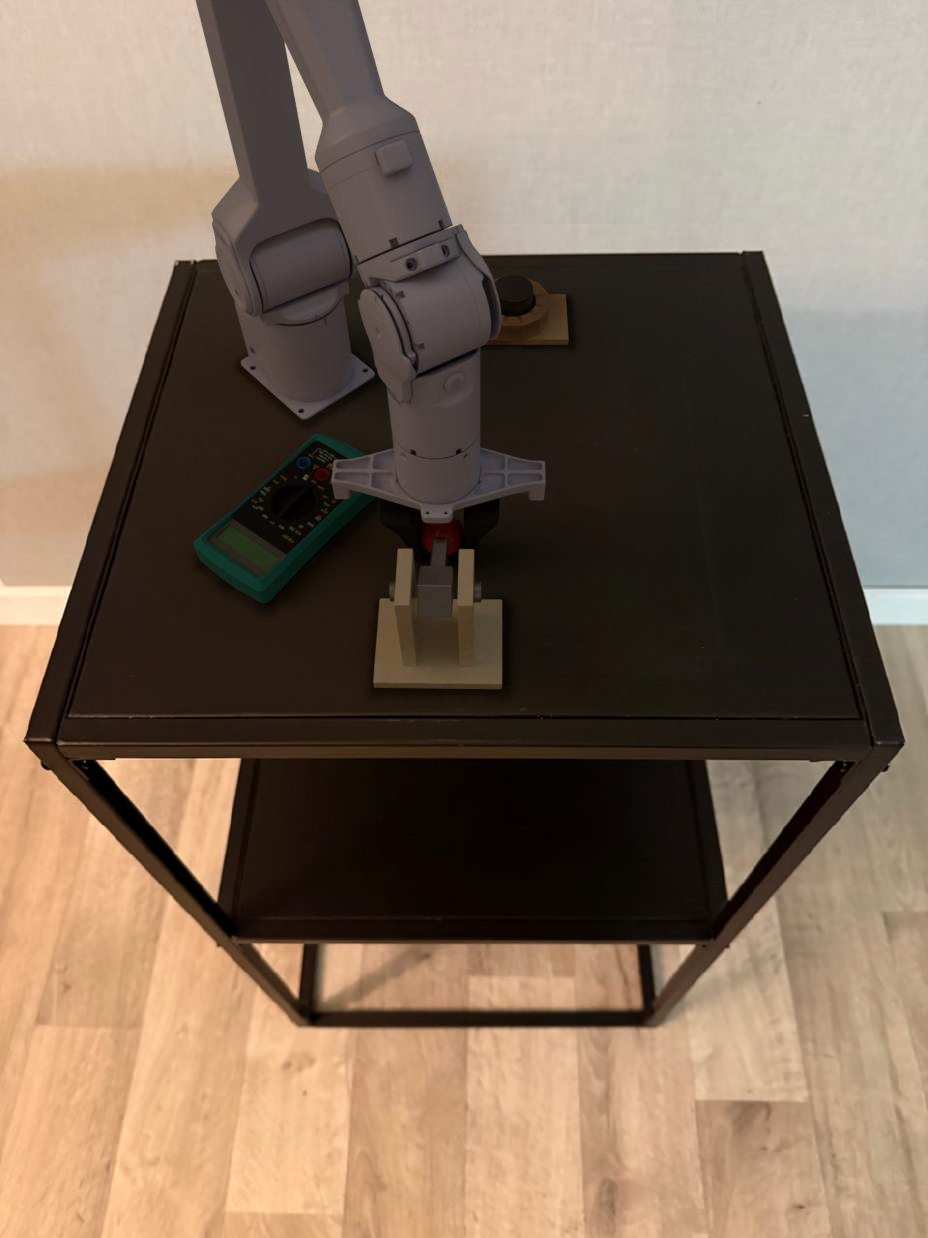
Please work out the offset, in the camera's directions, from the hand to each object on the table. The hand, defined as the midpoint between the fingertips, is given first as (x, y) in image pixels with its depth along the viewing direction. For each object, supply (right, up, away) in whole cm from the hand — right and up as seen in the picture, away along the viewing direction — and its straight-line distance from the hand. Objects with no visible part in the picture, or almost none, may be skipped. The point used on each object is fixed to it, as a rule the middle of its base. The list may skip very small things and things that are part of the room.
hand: (443, 550), depth 72 cm
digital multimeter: (-12, +2, +3) cm, 12 cm away
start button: (+6, +23, +12) cm, 27 cm away
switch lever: (0, -3, -5) cm, 6 cm away
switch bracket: (0, -7, -4) cm, 8 cm away
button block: (+6, +22, +14) cm, 27 cm away
